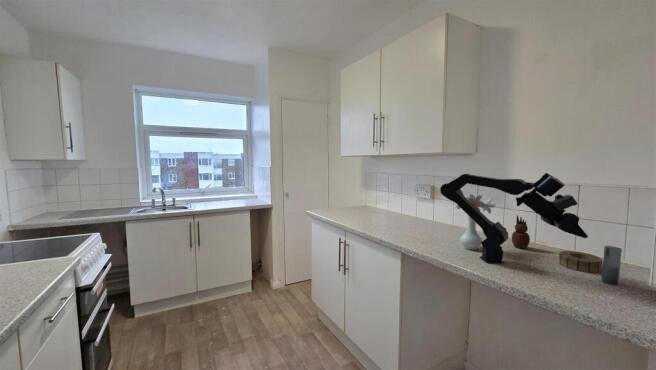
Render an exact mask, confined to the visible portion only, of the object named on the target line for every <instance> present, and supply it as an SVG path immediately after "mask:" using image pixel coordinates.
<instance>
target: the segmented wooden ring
mask: <svg viewBox="0 0 656 370" xmlns="http://www.w3.org/2000/svg"><path fill="white" fill-rule="evenodd" d="M558 264H559V265H560V266H562V267H564V268H567V269H569V270H573V271H577V272H584V273H590V274H591V273H596V274H597V273H600V272H602V268H603V258H601V257H600V256H597V255H595V254H591V253H588V252H582V251H576V250H575V251H574V250H561V251H559V252H558Z"/></svg>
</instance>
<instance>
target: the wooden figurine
mask: <svg viewBox="0 0 656 370" xmlns="http://www.w3.org/2000/svg"><path fill="white" fill-rule="evenodd" d="M511 241H512V242H511V243H512V245H513V247H515V248H517V249H521V250H522V249H523V250H524V249H525V250H526V249H527V248H528V246H529V244H530V242H531V237H530V235H529V233H528V225H527V221H526V220H525V219H522V216H520V217H519V215H518V214H517V215H516V224H515V225H514V231H513V232H512V234H511Z"/></svg>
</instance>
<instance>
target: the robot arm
mask: <svg viewBox="0 0 656 370" xmlns="http://www.w3.org/2000/svg"><path fill="white" fill-rule="evenodd" d="M467 184H469V185H473V186H474V185H475V186H479V187H480V186H481V187H485V188H490V189H491V188H492V189H496V190H499V191H501V192H504V193H506V194H509V195H512V196H516V197H515V201H516V207H519V206H521V205H522V204H524V205H525V206H526V207H527V208H529V209H531V210H532V211H533V213H535V214H537V215H539V216H540V220H541V221H543V222H544V223H546V224H547V225H550V226H553V227H556V228H557V229H558V230H560V231H562V232H564V233H567V234H570V235H573V236H576V237H580V238H583V239H587V238H588V237H589V235H588V234H587V233H586V232H585V231H584V230H583V228H582V227H581V226H580V225H579V222H580V217H579V216H577V215H576V214H575V213H572V212H566V210H565V209H569V208H571V207H574V206H577V205H578V202H577V201H576V199H575V198H574V196H573V195H570V194H566V195H562V194H557V195H555V196H554V194H556V193H557V192H559V191H560V190H561V189H562V188H564V187H565V186H566V184H564V182H562V181H561V180H560V179H558V178H556V177H554V176H553V175H551V174H549V173H548V172H545V173H544V174H543V175H542V176H541V177H540V178H539V179H538V180H536V181H535V182H527V181H525V180H524V179H522V178H495V177H489V176H481V175H475V174H470V173H463V174H461V175H460V176H458V177H457V178H455V179H453V180H452V181H450V182H447V183H443V184H442V185H441V186H440V189H439V190H440V191H439V192H440V194H441V195H442V196H443V197H444V198H446V199H447V200H449V201H451V202H452V203H455V204H457V205H458V206H459V207H460V209H461V210H462V211H463V212H464V213H465V214H466V215H467V216H468V215H469V216H470V217H471V218H472V219H473V220H474V221H475V222H476V224H477V225H478V227H480V229H481V230H482V232H483V235H484V236H485V237H486V238H485V239H482V242H481V243H482V245H481V246H482V247H481V249H482V250H481V251H482V252H481V256H479V259H481V260H482V261H483V262H485V263H486V264H504V263H505V261H504V260H503V259H504V250H503V246H501V245H502V244H504V243H505V242H506V241H507V240H508V239H509V232H508V231H507V227H504V226H503V224H501V222H500V221H496V222H493V221H492V220H490V219H489V218H488V217H487V216H486V215H485V214H484V213H482V211H481V210H480V211H479V210H478V209H477V208H476V207H475V206H474V205H473V204H472V203H471V202H470V201H469V200H468V199H467V197H465V195H464V192H463V191H462V188H464V187H465V186H466V185H467ZM527 191H529V192H527ZM523 193H524V194H523ZM521 194H522V195H521ZM518 195H519V197H517V196H518ZM520 195H521V196H520ZM552 196H554V200H553V201H552V200H551V201H550V200H548V199H547V198H546V197H552ZM457 205H456V206H457Z"/></svg>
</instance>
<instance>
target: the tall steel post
mask: <svg viewBox="0 0 656 370" xmlns="http://www.w3.org/2000/svg"><path fill="white" fill-rule="evenodd" d="M603 249H604V250H603V257H602V270H601V280H600V281H601V282H602V283H604V284H607V285H610V286H619V283H620V281H619V280H620V272H621V271H620V270H621V261H622V260H621V259H622V250H623V249H622V248H621V247H617V246H612V245H605V246H604V248H603Z"/></svg>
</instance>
